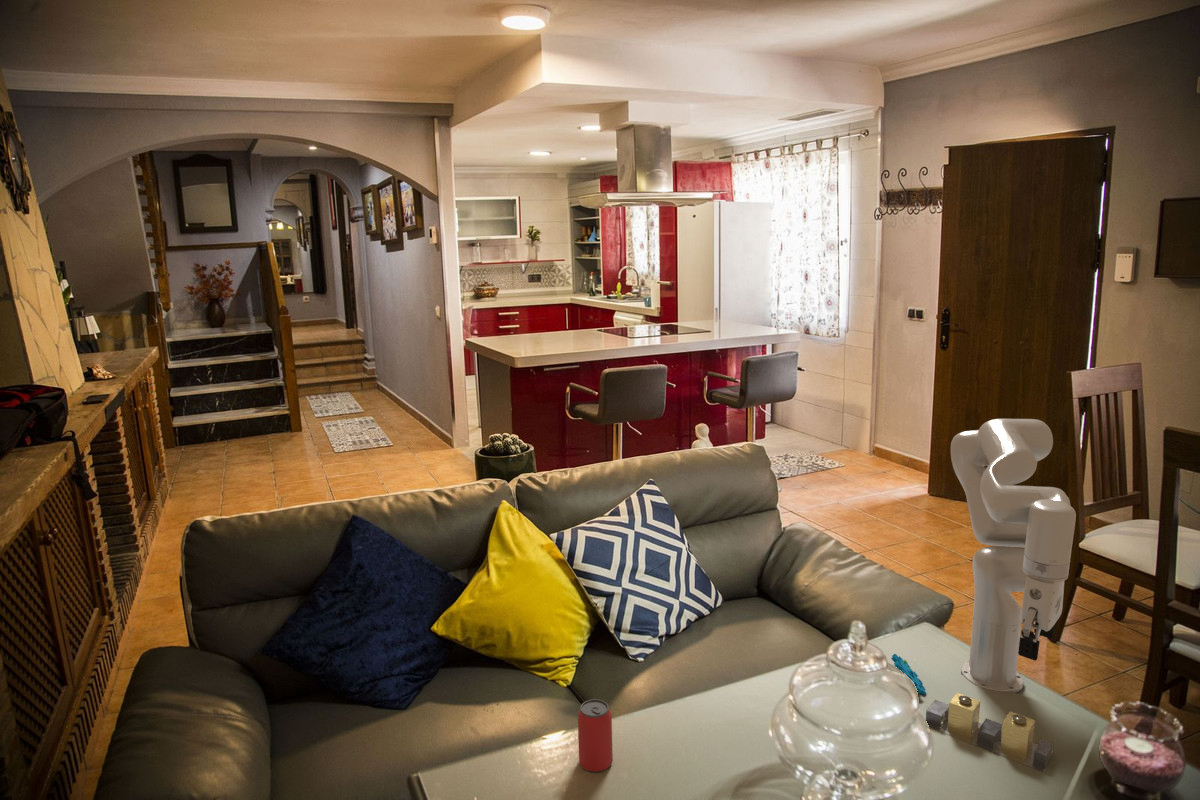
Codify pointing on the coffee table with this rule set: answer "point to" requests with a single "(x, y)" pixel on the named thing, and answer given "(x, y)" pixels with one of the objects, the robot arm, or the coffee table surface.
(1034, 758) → the rail
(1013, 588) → the robot arm
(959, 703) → the seated nut block
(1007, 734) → the brass nut block
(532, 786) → the coffee table surface
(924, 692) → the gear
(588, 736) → the beer can
